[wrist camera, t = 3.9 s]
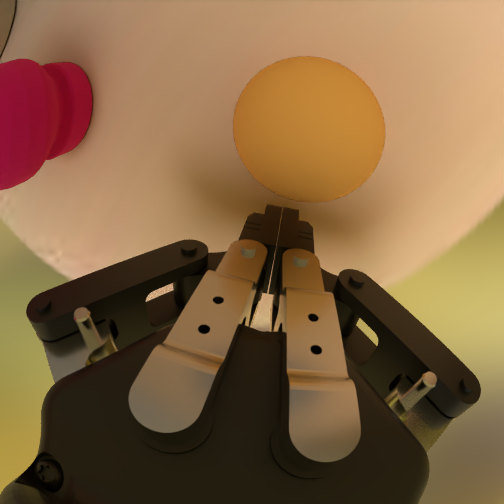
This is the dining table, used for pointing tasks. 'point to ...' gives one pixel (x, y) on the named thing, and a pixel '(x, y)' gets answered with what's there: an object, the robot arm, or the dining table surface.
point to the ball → (309, 129)
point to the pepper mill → (39, 115)
